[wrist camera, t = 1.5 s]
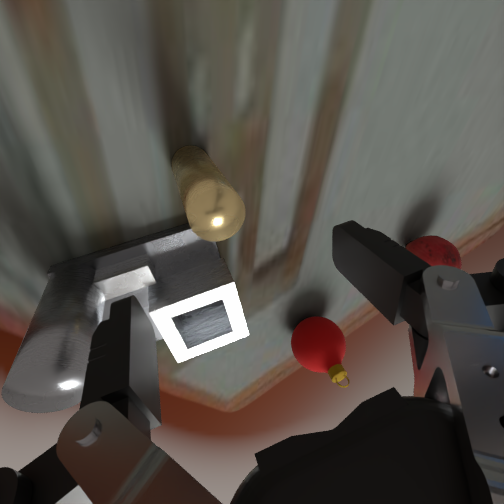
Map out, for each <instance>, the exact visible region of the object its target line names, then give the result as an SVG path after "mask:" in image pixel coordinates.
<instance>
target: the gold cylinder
mask: <svg viewBox="0 0 504 504" xmlns="http://www.w3.org/2000/svg"><path fill="white" fill-rule="evenodd" d="M172 170H173V173H174V177H175V180H176V183H177V186H178V189H179V193H180V196H181V199H182V202H183V206H184V209H185V212H186V215H187V218H188V222H189V225H190V227H191V229H192V231H193V232H194V233H195V234H196V235H197V236H199V237H200V238H202V239H204V240H207V241H222V240H225V239H228V238H229V237H231V236H233V235H234V234H235V233H236V232H237V231H238V230H239V229H240V228H241V226H242V224H243V222H244V219H245V206H244V203H243V201H242V199H241V198H240V197H239V195H238V194H237V193H236V191H235V190H234V189H233V187H232V186H231V185H230V184H229V182H228V181H227V180H226V178H225V177H224V176H223V174H222V173H221V172H220V171H219V169H218V168H217V167H216V165H215V164H214V163H213V161H212V160H211V159H210V157H209V156H208V155H207V154H206V152H205V151H204V150H202V149H201V148H199V147H197V146H191V145H190V146H184V147H182V148H180V149H179V150H178V151H177V152H176V153H175V154H174V156H173V158H172Z"/></svg>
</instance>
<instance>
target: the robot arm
mask: <svg viewBox="0 0 504 504" xmlns="http://www.w3.org/2000/svg"><path fill="white" fill-rule="evenodd" d="M332 257H333V262H334V264H335V266H336V268H337V269H338V271H339V272H340V273H341V274H342V275H343V276H344V277H345V278H346V279H347V280H348V281H349V282H350V283H351V284H352V285H353V286H354V287H355V288H356V289H357V290H358V291H359V292H360V293H362V294H363V295H364V296H365V297H366V298H367V299H368V300H369V301H370V302H371V303H372V304H373V305H374V306H375V307H376V308H377V309H378V310H379V311H380V312H381V313H382V314H383V315H384V316H385V317H386V318H387V319H388V320H389V321H390V322H391V323H392V324H393V325H396V324H398V323H401V322H403V321H406V322H407V323H408V324H409V329H408V331H409V339H410V346H411V354H412V362H413V369H414V377H415V378H414V380H415V382H414V383H415V384H414V396H403V397H401V395H400V394H399V393H398V392H397V390H396V389H395V388H394V387H393V388H391V389H389V390H387V391H385V392H382V393H380V394H378V395H376V396H374V397H372V398H370V399H368V400H366V401H364V402H362V403H361V404H360V405H359V406H358V407H357V408H356V409H355V410H354V411H353V412H352V413H351V414H349V415H348V416H347V417H346V418H345V419H344V420H343V421H342V422H341V423H340V424H339V425H338V426H337V427H336V428H334V429H333V430H329V431H323V432H316V433H309V434H303V435H296V436H291V437H289V438H287V439H285V440H282V441H281V442H278V443H276V444H274V445H272V446H270V447H268V448H266V449H264V450H262V451H260V452H258V453H255V457H256V460H257V463H258V465H257V466H256V467H255V468H254V469H253V470H252V471H251V472H250V473H249V474H248V475H247V477H246V478H245V479H244V480H243V482H242V483H241V485H240V486H239V488H238V489H237V491H236V493H235V495H234V497H233V499H232V501H231V503H230V504H504V258H503V259H501V260H499V261H498V262H497V263H496V265H495V267H494V269H493V272H486V273H477V274H468V273H466V272H465V271H463V270H461V269H458V268H456V267H452V266H446V265H436V266H431V265H430V264H428V263H427V262H425V261H424V260H422V259H421V258H419V257H418V256H416V255H415V254H413V253H412V252H410V251H409V250H407V249H406V248H404V247H403V246H399V244H398V243H397V242H395V241H393V240H391V239H390V238H389V237H387V236H386V235H384V234H383V233H381V232H379V231H376V230H373V229H370V228H364V227H362V226H361V225H359V224H358V223H357V222H355V221H353V220H351V221H348V222H345V223H342V224H339V225H336V226H334V228H333V235H332ZM88 361H89V363H87V369H86V374H85V380H84V386H83V392H82V398H81V404H80V409H79V411H77V412H76V413H75V414H74V415H73V416H72V417H71V418H70V419H69V420H68V422H67V423H66V424H65V426H64V428H63V429H62V431H61V433H60V435H59V438H58V441H57V443H56V444H55V445H54V446H52V447H51V448H50V449H48V450H47V451H46V452H44V453H43V454H42V455H40V456H39V457H37V458H36V459H35V460H33V461H32V462H31V463H29V464H28V465H26V466H25V467H24V468H22V469H21V470H20V471H18V472H17V471H15V470H13V469H11V468H8V467H2V468H0V504H222V503H221V502H220V501H219V500H218V499H217V498H216V497H214V496H213V495H212V494H211V493H210V492H209V491H208V490H207V489H206V488H205V487H203V486H202V485H201V484H200V483H199V482H198V481H197V480H196V479H195V478H193V477H192V476H191V475H190V474H189V473H188V472H187V471H186V470H185V469H183V468H182V467H181V466H180V465H179V464H178V463H177V462H176V461H175V460H174V459H172V458H171V457H170V456H169V455H168V454H167V453H166V452H165V451H163V450H162V449H161V448H159V447H157V446H156V445H155V444H154V443H153V442H152V441H151V436H150V430H151V429H153V428H156V427H158V426H160V425H162V424H161V409H160V395H159V379H158V365H157V350H156V337H155V332H154V329H153V326H152V324H151V322H150V320H149V318H148V317H147V315H146V313H145V311H144V310H143V308H142V306H141V305H140V303H139V301H138V299H137V298H136V297H135V296H134V295H132V296H129V297H126V298H123V299H120V300H118V301H115V302H112V303H111V306H110V315H109V319H107V320H104V321H101V322H100V323H99V325H98V327H97V328H96V330H95V332H94V333H93V335H92V339H91V345H90V352H89V357H88Z"/></svg>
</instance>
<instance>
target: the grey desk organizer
mask: <svg viewBox="0 0 504 504" xmlns="http://www.w3.org/2000/svg"><path fill="white" fill-rule="evenodd" d="M47 275H48V276H49V277H50V279H49V281H48V283H47V286H46V288H45V290H44V293H43V295H42V297H41V300H40V302H39V304H38V307H37V309H36V311H35V314H34V316H33V318H32V321H31V323H30V325H29V328H28V330H27V332H26V334H25V337H24V339H23V342H22V344H21V346H20V348H19V351H18V353H17V355H16V358H15V360H14V363H13V365H12V367H11V369H10V372H9V374H8V377H7V379H6V381H5V383H4V386H3V388H2V398H3V399H4V401H5V402H6V403H7V404H8V405H10V406H11V407H13V408H15V409H18V410H21V411H25V412H32V413H33V412H34V413H45V412H55V411H60V410H63V409H66V408H69V407H72V406H74V405H76V404H78V403H79V402H81V398H82V392H83V386H84V380H85V374H86V369H87V363H89V361H88V357H89V352H90V345H91V339H92V335H93V333H94V332H95V330H96V328H97V327H98V325H99V323H100V322H101V321H104V320H107V319H109V315H110V306H111V303H112V302H115V301H118V300H120V299H123V298H126V297H129V296H132V295H134V296H135V297H136V298H137V299H138V301H139V303H140V305H141V306H142V308H143V310H144V311H145V313H146V315H147V317H148V318H149V320H150V322H151V324H152V326H153V329H154V332H155V337H156V341H157V340H160V339H163V338H164V340H165V342H166V343H167V345H168V347H169V348H170V350H171V352H172V354H173V355H174V357H175V359H176V360H177V362H178V363H179V362H182V361H184V360H187V359H190V358H192V357H195V356H197V355H200V354H202V353H205V352H207V351H210V350H212V349H215V348H217V347H220V346H223V345H225V344H228V343H230V342H233V341H235V340H238V339H240V338H243V337H245V336H248V335H249V333H248V329H247V326H246V322H245V319H244V315H243V312H242V308H241V305H240V301H239V298H238V294H237V291H236V287H235V284H234V281H233V279H232V276H231V274H230V272H229V269H228V267H227V265H226V263H225V260H224V258H222V259H220V255H219V252H218V249H217V245H216V242H215V241H207V240H204V239H202V238H200V237H199V236H197V235H196V234H195V233H194V232H193V231H192V229H191V227H190V225H189V223H187V224H184V225H181V226H178V227H175V228H171V229H168V230H165V231H162V232H159V233H155V234H152V235H149V236H146V237H142V238H139V239H136V240H133V241H130V242H126V243H123V244H120V245H117V246H114V247H110V248H107V249H104V250H101V251H98V252H94V253H91V254H88V255H85V256H82V257H78V258H75V259H72V260H69V261H66V262H62V263H59V264H56V265H53V266H51V267H50V269H49V271H48V273H47Z"/></svg>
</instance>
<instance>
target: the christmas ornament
mask: <svg viewBox="0 0 504 504" xmlns="http://www.w3.org/2000/svg"><path fill="white" fill-rule="evenodd" d="M291 347H292V351H293V354H294V356H295V358H296V359H297V361H298V362H299V363H300V364H301V365H302V366H304V367H305V368H307V369H309V370H311V371H314V372H326V373H328V374H329V376H330V378H331V379H332V381H333V382H336V383H337V384H338V385H339V386H340V387H344V388H345V387H347V386H348V385H349V383H348V385H347V386H341V385H340V384H339V383H338V382H339V381H341V380H343V379H344V378H345V377H346V375H347V372H346V371H345V370H344V368H343V366H342V365H341V362H342V359H343V357H344V355H345V349H346V344H345V338H344V335H343V333H342V331H341V330H340V328H339V327H338V326H337V325H336V324H335V323H334V322H332V321H331V320H329V319H327V318H324V317H318V316H315V317H309V318H306V319H304V320H303V321H301V322H300V323H299V324H298V325H297V326H296V328H295V329H294V331H293V334H292V338H291ZM346 378H347V377H346ZM347 379H348V378H347ZM348 382H349V379H348Z"/></svg>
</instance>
